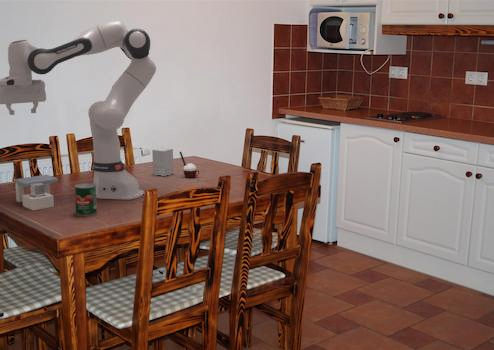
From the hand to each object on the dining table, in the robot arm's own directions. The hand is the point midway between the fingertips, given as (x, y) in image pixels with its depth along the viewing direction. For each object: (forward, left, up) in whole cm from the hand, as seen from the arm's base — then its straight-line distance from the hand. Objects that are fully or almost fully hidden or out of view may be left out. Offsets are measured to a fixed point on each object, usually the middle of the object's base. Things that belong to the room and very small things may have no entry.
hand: (22, 113), depth 275 cm
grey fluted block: (-37, -55, -34) cm, 75 cm away
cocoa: (-51, -55, -34) cm, 83 cm away
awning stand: (-14, +11, -34) cm, 39 cm away
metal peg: (-17, +16, -34) cm, 41 cm away
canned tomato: (-40, +18, -34) cm, 56 cm away
